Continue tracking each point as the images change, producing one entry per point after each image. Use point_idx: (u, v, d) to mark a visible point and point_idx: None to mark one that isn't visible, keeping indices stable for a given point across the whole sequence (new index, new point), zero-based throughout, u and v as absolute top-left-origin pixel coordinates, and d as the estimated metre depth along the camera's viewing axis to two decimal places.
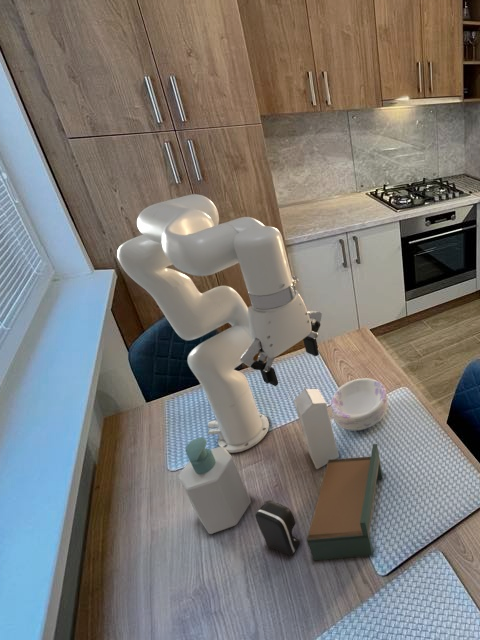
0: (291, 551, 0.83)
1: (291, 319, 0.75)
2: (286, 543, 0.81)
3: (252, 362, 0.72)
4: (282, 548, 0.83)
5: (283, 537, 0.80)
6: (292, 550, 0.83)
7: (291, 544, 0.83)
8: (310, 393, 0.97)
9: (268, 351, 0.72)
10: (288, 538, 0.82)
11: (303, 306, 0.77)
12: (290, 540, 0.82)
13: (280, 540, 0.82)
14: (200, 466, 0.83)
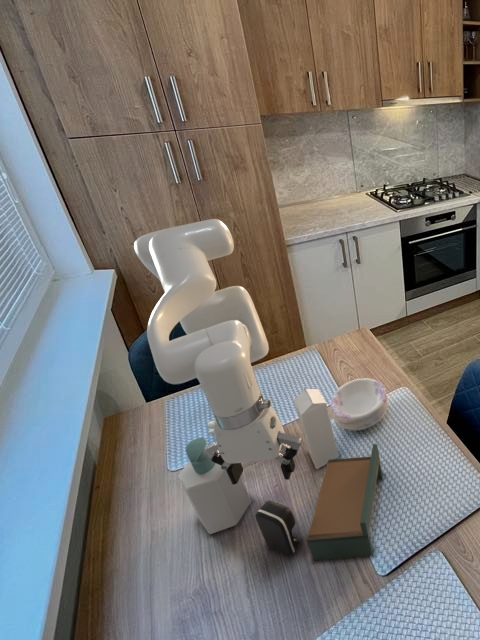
0: (291, 551, 0.83)
1: (245, 441, 0.70)
2: (286, 543, 0.81)
3: (212, 455, 0.73)
4: (282, 548, 0.83)
5: (283, 537, 0.80)
6: (292, 550, 0.83)
7: (291, 544, 0.83)
8: (310, 393, 0.97)
9: (221, 456, 0.72)
10: (288, 538, 0.82)
11: (264, 434, 0.70)
12: (290, 540, 0.82)
13: (280, 540, 0.82)
14: (200, 466, 0.83)
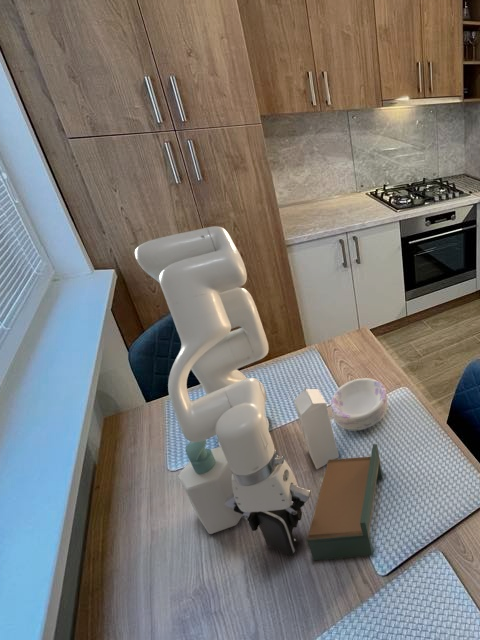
0: (291, 551, 0.83)
1: (260, 494, 0.75)
2: (286, 543, 0.81)
3: (233, 506, 0.79)
4: (282, 548, 0.83)
5: (283, 537, 0.80)
6: (292, 550, 0.83)
7: (291, 544, 0.83)
8: (310, 393, 0.97)
9: (237, 505, 0.77)
10: (288, 538, 0.82)
11: (278, 488, 0.75)
12: (290, 540, 0.82)
13: (280, 540, 0.82)
14: (200, 466, 0.83)
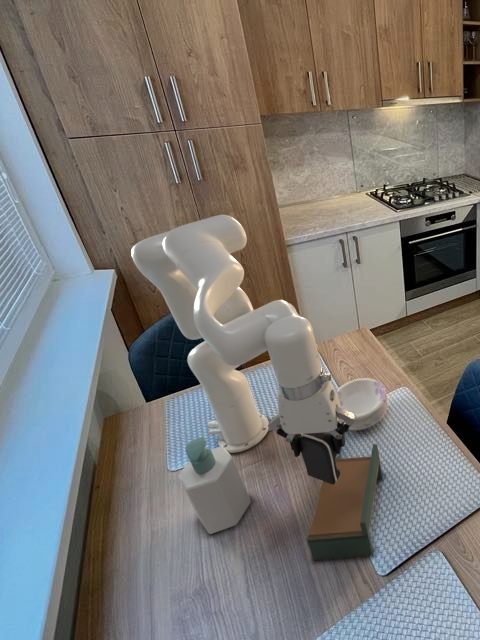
0: (334, 480, 0.81)
1: (307, 412, 0.73)
2: (330, 470, 0.79)
3: (276, 428, 0.76)
4: (325, 476, 0.80)
5: (327, 462, 0.78)
6: (335, 479, 0.81)
7: (334, 472, 0.80)
8: None
9: (282, 426, 0.75)
10: (332, 465, 0.79)
11: (325, 406, 0.73)
12: (333, 467, 0.80)
13: (323, 467, 0.79)
14: (200, 466, 0.83)
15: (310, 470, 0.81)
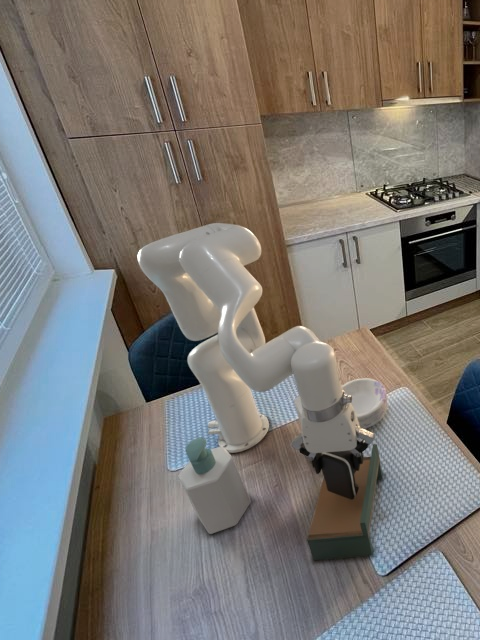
0: (353, 495, 0.84)
1: (329, 433, 0.76)
2: (349, 486, 0.83)
3: (299, 447, 0.80)
4: (344, 492, 0.84)
5: (347, 479, 0.82)
6: (354, 494, 0.85)
7: (353, 488, 0.84)
8: None
9: (305, 446, 0.78)
10: (351, 481, 0.83)
11: (346, 427, 0.77)
12: (353, 483, 0.83)
13: (343, 483, 0.83)
14: (200, 466, 0.83)
15: (330, 486, 0.85)
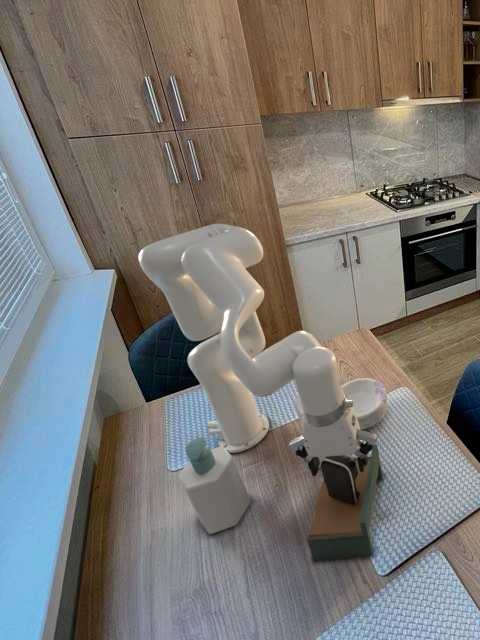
0: (354, 500, 0.85)
1: (330, 437, 0.77)
2: (350, 492, 0.83)
3: (296, 449, 0.80)
4: (345, 497, 0.85)
5: (348, 485, 0.83)
6: (355, 500, 0.85)
7: (354, 493, 0.85)
8: None
9: (306, 450, 0.79)
10: (352, 487, 0.84)
11: (347, 431, 0.77)
12: (354, 489, 0.84)
13: (344, 489, 0.84)
14: (200, 466, 0.83)
15: (331, 492, 0.86)
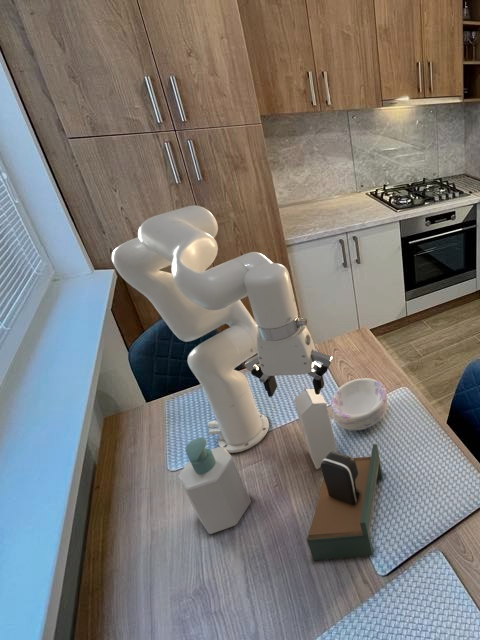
0: (354, 500, 0.85)
1: (284, 354, 0.78)
2: (350, 492, 0.83)
3: (252, 368, 0.82)
4: (345, 497, 0.85)
5: (348, 485, 0.83)
6: (355, 500, 0.85)
7: (354, 493, 0.85)
8: (310, 393, 0.97)
9: (260, 368, 0.80)
10: (352, 487, 0.84)
11: (300, 349, 0.78)
12: (354, 489, 0.84)
13: (344, 489, 0.84)
14: (200, 466, 0.83)
15: (331, 492, 0.86)
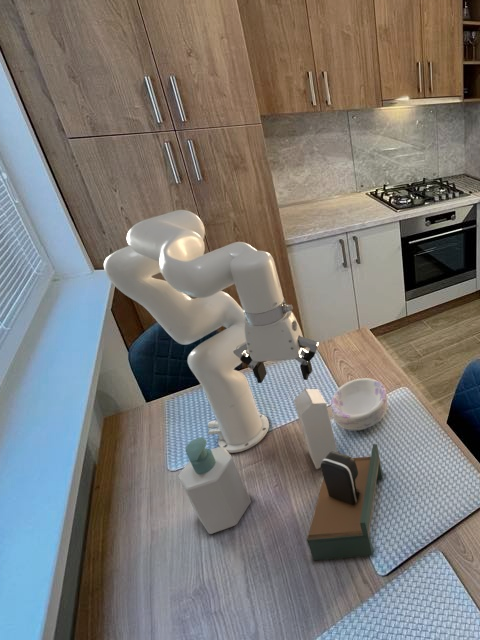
0: (354, 500, 0.85)
1: (271, 339, 0.81)
2: (350, 492, 0.83)
3: (241, 355, 0.84)
4: (345, 497, 0.85)
5: (348, 485, 0.83)
6: (355, 500, 0.85)
7: (354, 493, 0.85)
8: (310, 393, 0.97)
9: (249, 354, 0.83)
10: (352, 487, 0.84)
11: (287, 334, 0.81)
12: (354, 489, 0.84)
13: (344, 489, 0.84)
14: (200, 466, 0.83)
15: (331, 492, 0.86)
